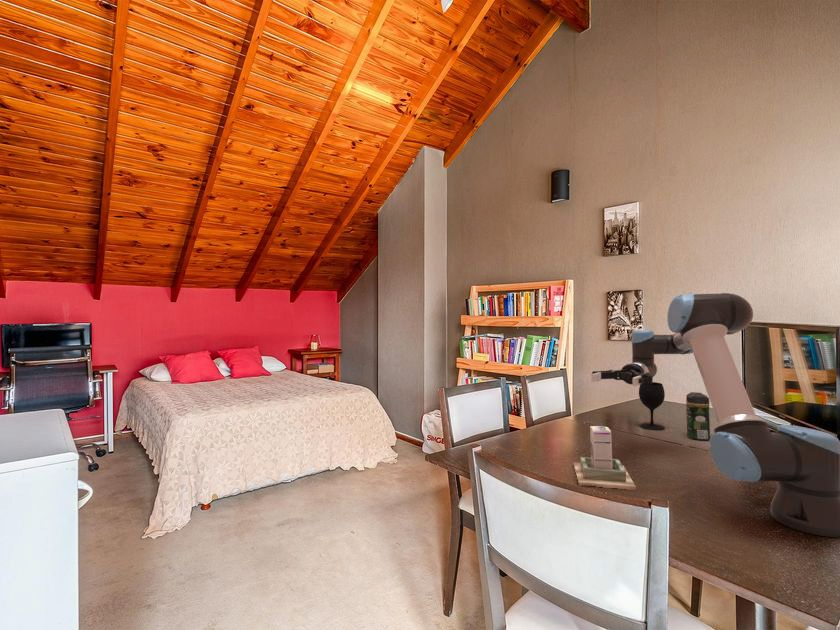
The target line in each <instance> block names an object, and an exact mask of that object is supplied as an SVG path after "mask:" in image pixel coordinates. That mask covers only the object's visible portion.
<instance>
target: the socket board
mask: <svg viewBox="0 0 840 630" xmlns="http://www.w3.org/2000/svg"><path fill="white" fill-rule="evenodd" d="M579 457H580V461H579V462H577V461H575V462H574V461H573V463H572V464H573V465H574V466H573V469H575V470H574V472H575V473H576V474H575V477H576V476H577V477H576V481H577V480H578V481H577V484H579V485H578V486H579V487H582V486H581V485H592V486H596V487H595V488H599V487H603V488H602V489H611V488H618V489H617V490H624V489H626V490H625V491H636V490H637V486H636V484H635V483H634V481H633V480H632V478H631V475H630V474H629V473H628V471H627V469H626V467H625V466H624V465H622V463H621V461H620V459H618V458H612V466H613V470H608V469H593V468H591V456H590V457H588V456H586V457H585V456H579Z"/></svg>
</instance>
